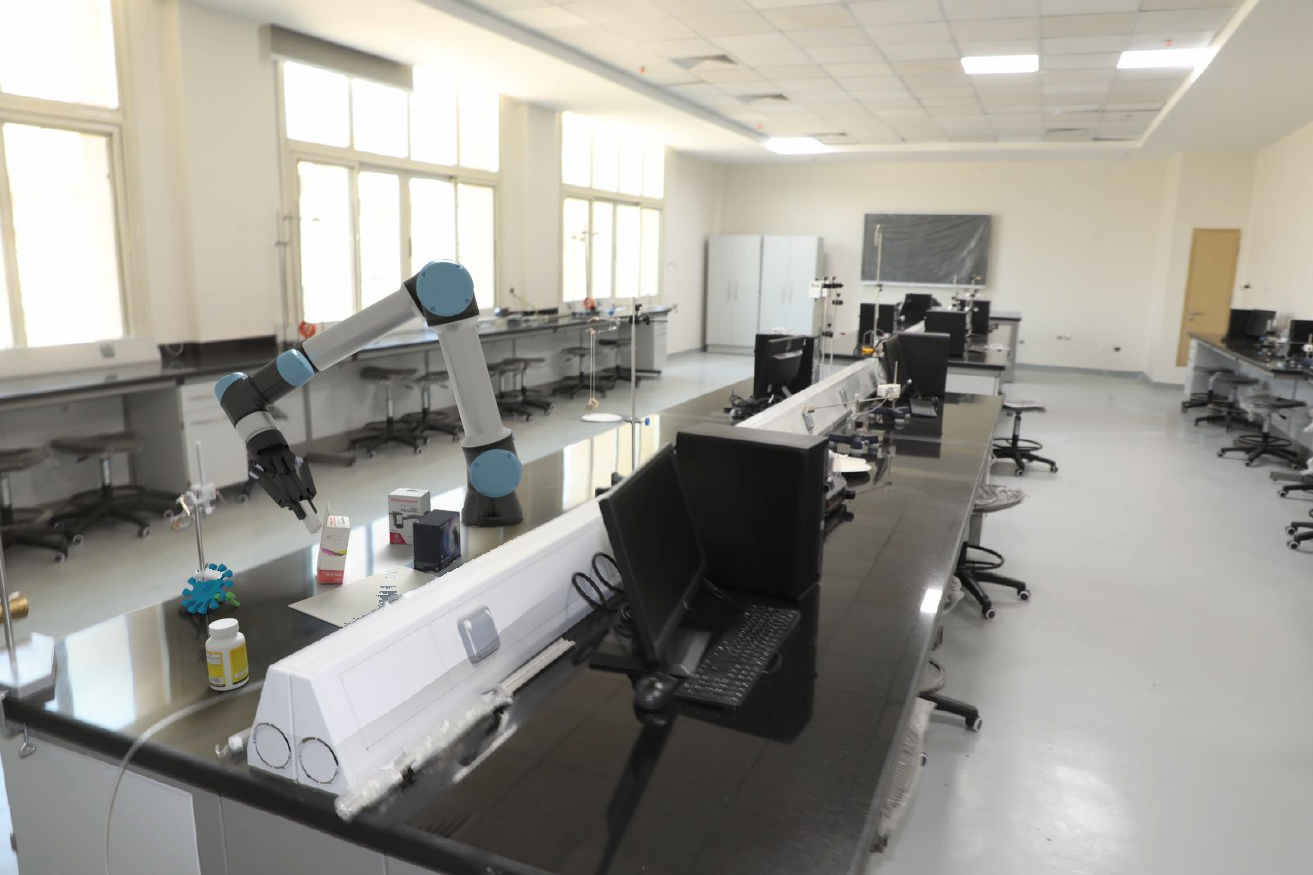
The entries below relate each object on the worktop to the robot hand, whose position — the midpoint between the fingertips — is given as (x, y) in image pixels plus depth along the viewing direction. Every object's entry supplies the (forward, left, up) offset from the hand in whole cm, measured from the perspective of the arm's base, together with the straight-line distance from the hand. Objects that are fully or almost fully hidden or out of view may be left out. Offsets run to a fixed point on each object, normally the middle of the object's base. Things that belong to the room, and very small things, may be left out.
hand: (316, 529), depth 170 cm
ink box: (-25, -2, -10) cm, 28 cm away
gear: (+21, -2, -10) cm, 23 cm away
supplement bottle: (+35, +28, -10) cm, 45 cm away
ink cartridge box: (0, +3, -10) cm, 10 cm away
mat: (0, +18, -10) cm, 20 cm away
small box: (-19, +14, -10) cm, 26 cm away
